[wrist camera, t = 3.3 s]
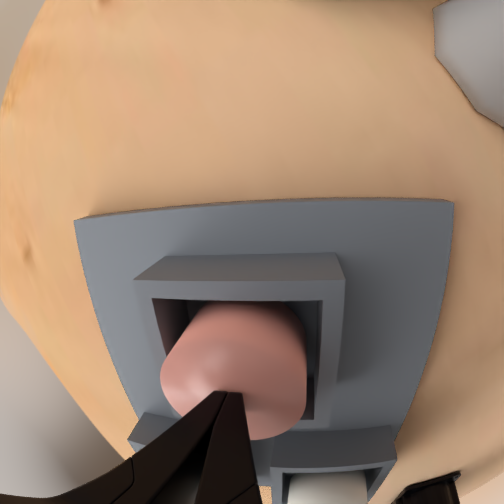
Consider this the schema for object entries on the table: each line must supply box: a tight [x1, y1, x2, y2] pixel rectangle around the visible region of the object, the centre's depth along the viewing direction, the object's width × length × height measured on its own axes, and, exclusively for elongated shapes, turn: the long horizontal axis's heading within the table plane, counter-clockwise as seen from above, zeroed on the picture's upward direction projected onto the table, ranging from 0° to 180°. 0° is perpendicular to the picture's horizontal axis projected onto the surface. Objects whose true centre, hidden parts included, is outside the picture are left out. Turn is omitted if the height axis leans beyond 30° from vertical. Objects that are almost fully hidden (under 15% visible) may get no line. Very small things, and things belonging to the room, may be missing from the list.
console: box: [74, 198, 454, 504], centre depth 12 cm, size 16×20×4 cm
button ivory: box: [287, 470, 368, 504], centre depth 10 cm, size 4×4×3 cm
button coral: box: [160, 300, 307, 440], centre depth 9 cm, size 4×4×3 cm
